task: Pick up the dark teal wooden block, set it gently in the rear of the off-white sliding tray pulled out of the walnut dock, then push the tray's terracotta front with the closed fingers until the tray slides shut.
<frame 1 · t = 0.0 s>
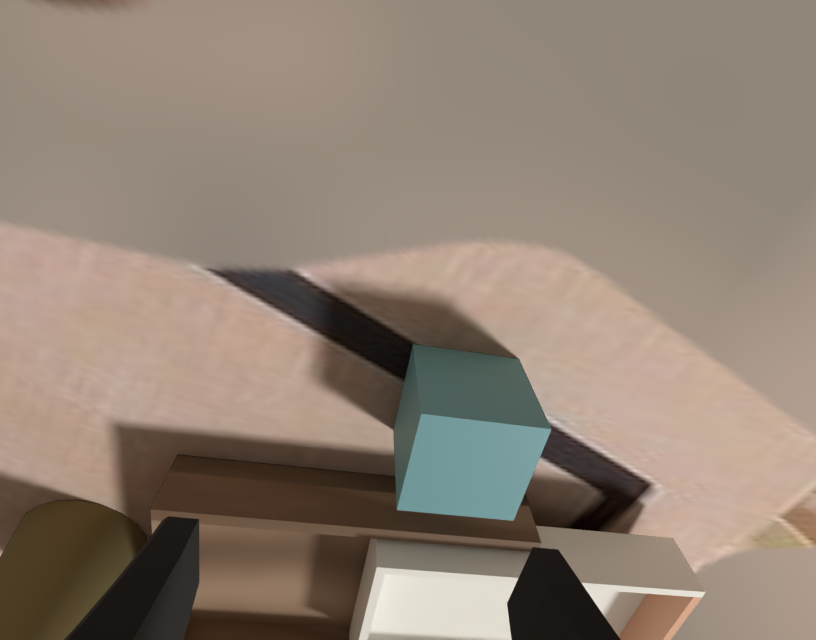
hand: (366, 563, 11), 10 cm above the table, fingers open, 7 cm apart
teal block: (453, 394, 22), on the table
dock: (351, 551, 26), on the table
tray: (510, 612, 24), point 3 cm above the table, slide at 8.0 cm
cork: (87, 540, 25), on the table
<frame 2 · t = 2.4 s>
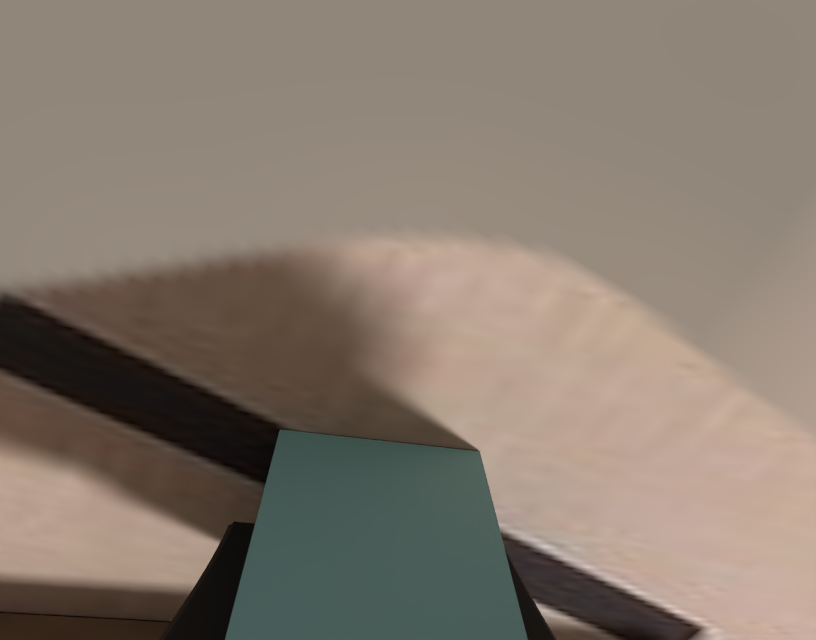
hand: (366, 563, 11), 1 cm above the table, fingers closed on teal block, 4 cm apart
teal block: (367, 511, 12), on the table, touching gripper
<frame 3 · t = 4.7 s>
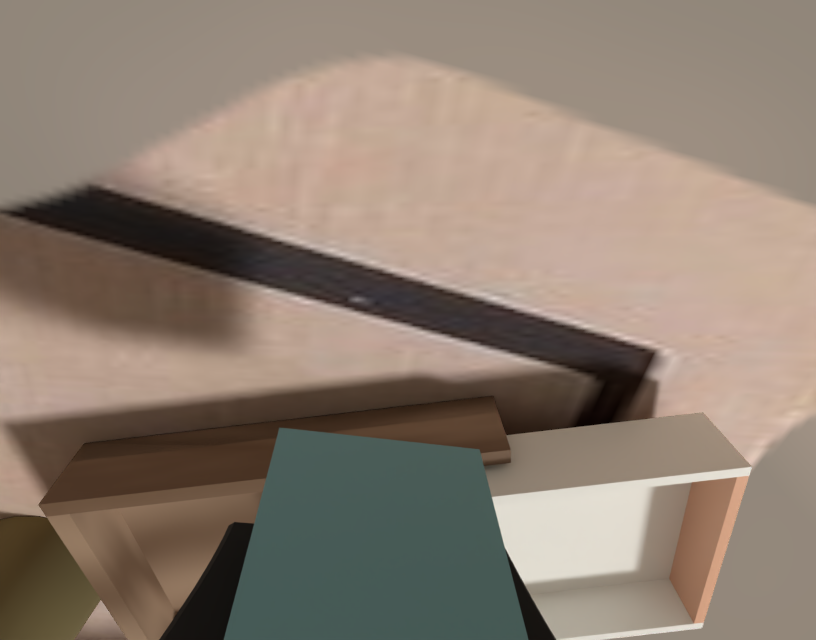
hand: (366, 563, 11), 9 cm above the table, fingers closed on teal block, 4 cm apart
teal block: (367, 509, 12), point 7 cm above the table, touching gripper
dock: (324, 514, 22), on the table
tray: (517, 546, 20), point 3 cm above the table, slide at 8.0 cm
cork: (48, 557, 23), on the table
when the fingers open (5 cm above the table, at t = 7.2 s): teal block drops 1 cm, resting on tray.
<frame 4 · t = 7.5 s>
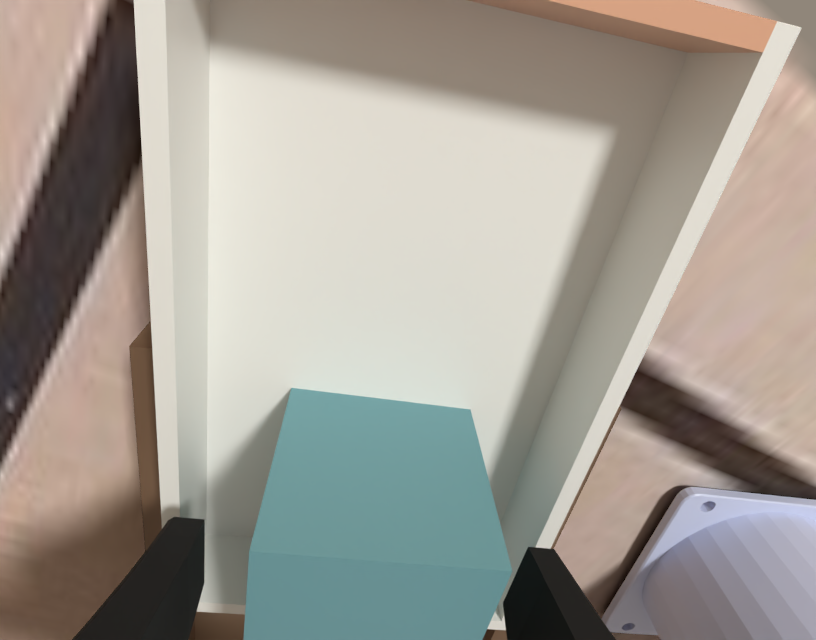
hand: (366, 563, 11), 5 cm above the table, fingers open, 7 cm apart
teal block: (369, 465, 13), point 2 cm above the table, touching tray
dock: (350, 511, 17), on the table
tray: (394, 360, 11), point 3 cm above the table, slide at 8.0 cm, touching teal block
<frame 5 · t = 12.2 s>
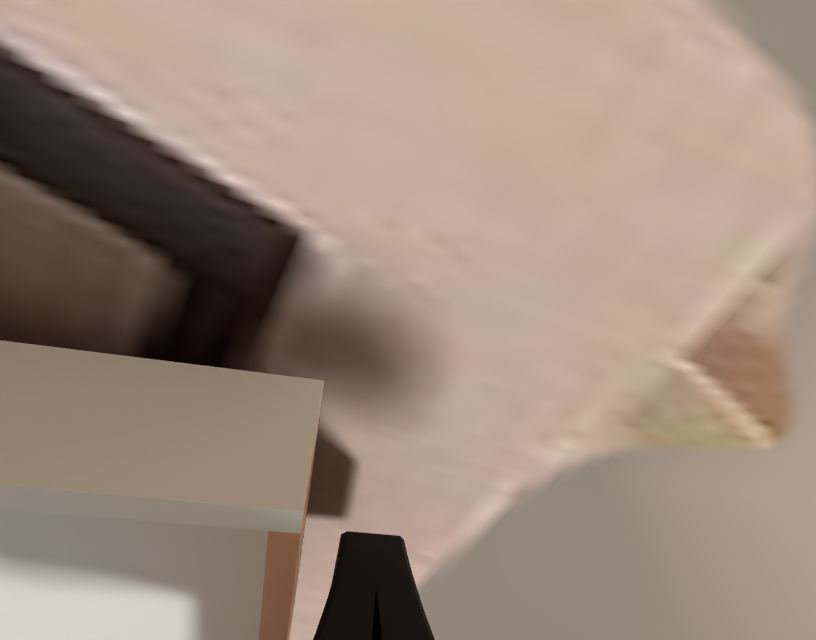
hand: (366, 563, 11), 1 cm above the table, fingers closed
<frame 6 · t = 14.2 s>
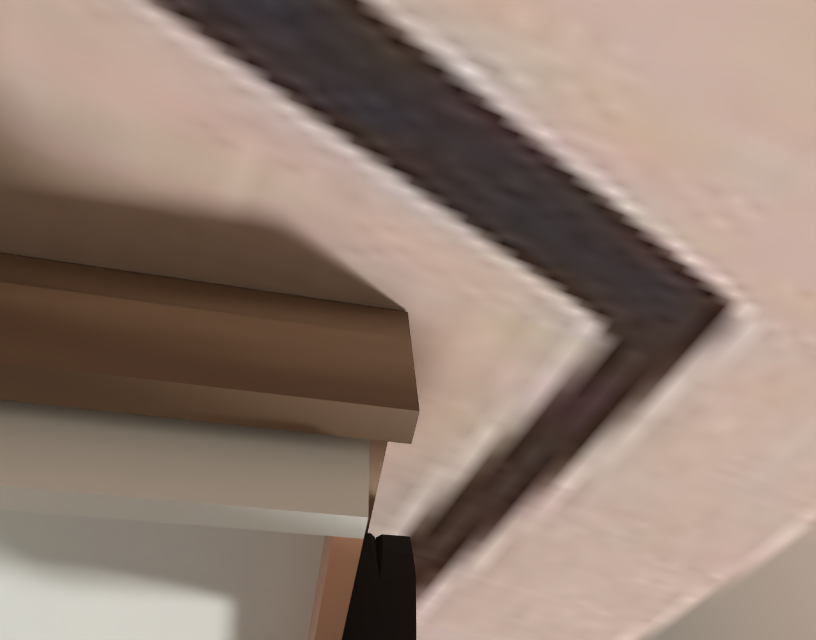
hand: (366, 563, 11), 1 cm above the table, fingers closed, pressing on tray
dock: (18, 481, 11), on the table
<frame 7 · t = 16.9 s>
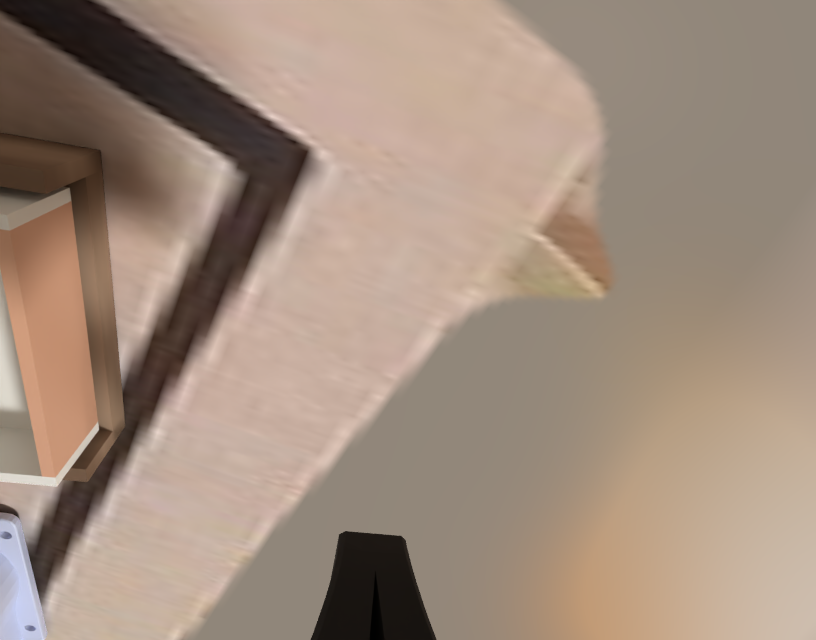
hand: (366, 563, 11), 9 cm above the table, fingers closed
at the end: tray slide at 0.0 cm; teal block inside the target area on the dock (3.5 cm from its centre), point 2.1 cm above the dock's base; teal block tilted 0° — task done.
